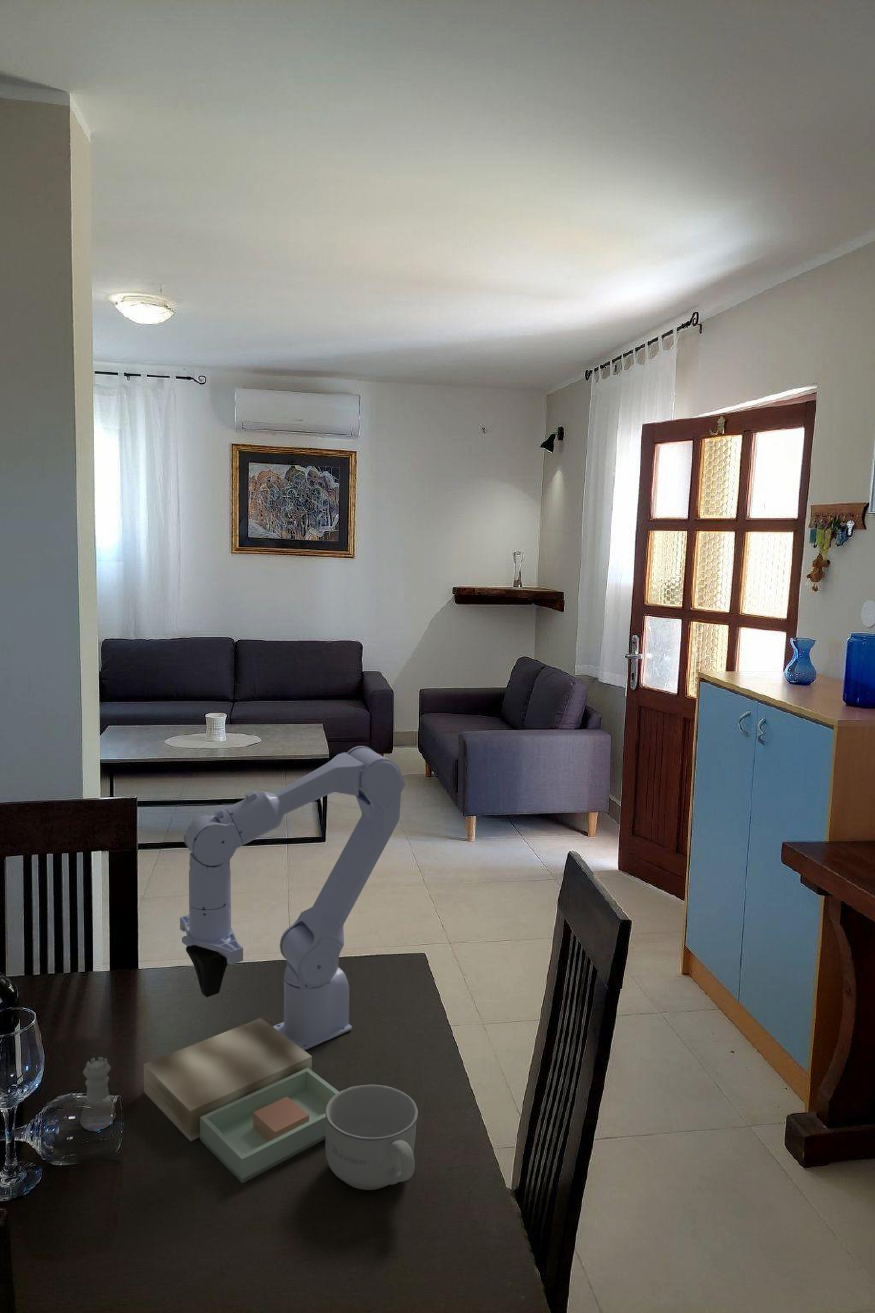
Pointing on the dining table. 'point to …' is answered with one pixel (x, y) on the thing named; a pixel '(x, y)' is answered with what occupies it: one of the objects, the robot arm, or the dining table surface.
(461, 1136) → the dining table surface
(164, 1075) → the beige banded block
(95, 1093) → the rook chess piece
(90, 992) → the dining table surface
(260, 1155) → the box
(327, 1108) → the teacup
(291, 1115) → the tile
